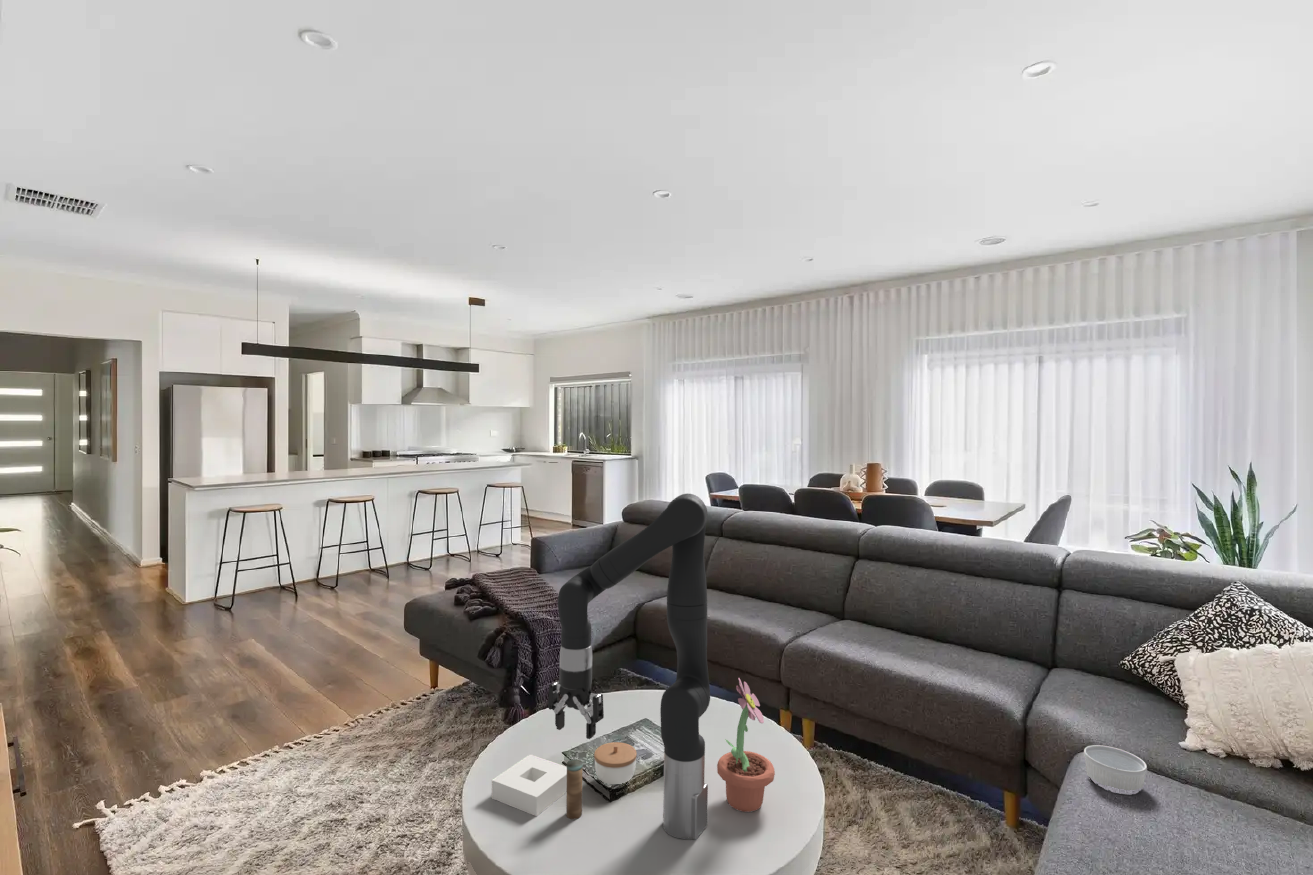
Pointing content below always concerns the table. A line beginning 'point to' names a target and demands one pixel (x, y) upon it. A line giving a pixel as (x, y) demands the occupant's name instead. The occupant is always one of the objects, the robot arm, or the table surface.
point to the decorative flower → (745, 762)
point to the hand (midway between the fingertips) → (575, 732)
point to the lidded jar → (615, 762)
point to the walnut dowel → (574, 789)
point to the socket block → (531, 784)
